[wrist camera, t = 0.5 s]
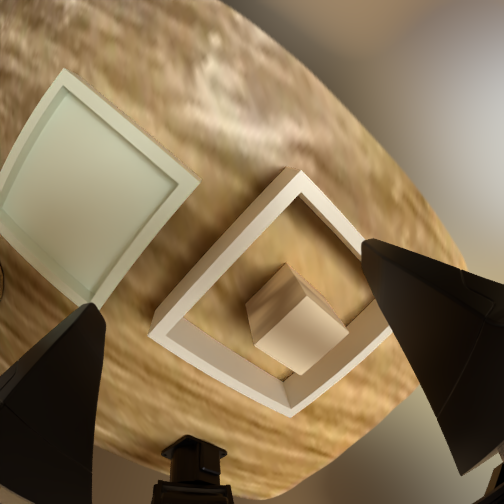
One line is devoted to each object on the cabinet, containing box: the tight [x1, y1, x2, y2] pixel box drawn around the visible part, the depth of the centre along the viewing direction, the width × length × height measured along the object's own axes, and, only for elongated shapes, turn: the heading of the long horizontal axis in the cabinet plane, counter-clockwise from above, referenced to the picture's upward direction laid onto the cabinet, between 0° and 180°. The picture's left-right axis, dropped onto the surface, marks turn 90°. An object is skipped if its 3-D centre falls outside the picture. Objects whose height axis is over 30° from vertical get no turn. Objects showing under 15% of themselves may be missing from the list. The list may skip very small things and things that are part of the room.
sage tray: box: [0, 68, 202, 310], centre depth 19 cm, size 14×14×2 cm
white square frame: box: [147, 167, 393, 418], centre depth 24 cm, size 16×16×4 cm
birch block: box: [245, 262, 349, 375], centre depth 23 cm, size 5×5×6 cm
